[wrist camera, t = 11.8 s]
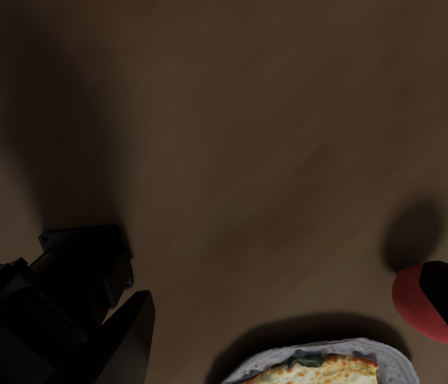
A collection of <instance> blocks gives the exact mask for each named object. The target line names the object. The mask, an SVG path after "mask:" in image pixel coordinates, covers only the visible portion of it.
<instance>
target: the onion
mask: <svg viewBox="0 0 448 384" xmlns="http://www.w3.org/2000/svg"><path fill="white" fill-rule="evenodd" d="M422 266H423V264H418V265H414V266H410V267H407V268H405V269H401V270H399V271H398V273H397V275H396V279H395V281H394V283H393V287H392V299H393V303H394V305H395V307H396V309H397V311H398V313H399V314H400V315H401V317H402V318H403V319H404V321H405V322H407V323H408V324H409V325H410V326H411V327H413V328H414V329H416V330H417V331H419V332H420V333H422V334H424V335H425V336H427V337H428V338H431V339H433V340H435V341H438V342H442V343H446V344H448V325H447V324H446V323H445V321H444V320H443V319H442V317H441V316H440V315H439V313H438V312H437V311H436V309H435V308H434V307H433V305H432V304H431V302H430V301H429V300H428V298H427V297H426V296H425V294H424V293H423V292H422V290H421V289H420V287H419V277H420V273H421V269H422Z"/></svg>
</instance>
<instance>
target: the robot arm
mask: <svg viewBox="0 0 448 384" xmlns="http://www.w3.org/2000/svg"><path fill="white" fill-rule="evenodd" d="M110 230H113V231H114V233H113V232H111V231H110ZM45 236H46V237H47V238H48V239H47V238H45ZM38 238H39V241H40V244H41V246H42V249H43V251H44V253H43V254H42V255H41V256H40V257H39V258H37V259H36V260H35V261H34V262H33V263H32V264H30V265H29V266H27V264H28V263H27V262H26V261H25V260H24V259H23V258H22V257H21V258H19V259H17V260H15V261H13V262H11V263H10V264H9V263H6V264H4V265H3V264H0V384H144V381H145V377H146V373H147V368H148V362H149V356H150V349H151V342H152V335H153V329H154V322H155V306H154V302H153V298H152V294H151V292H150V291H149V290H142V291H137V292H135V293H134V294H133V295H132V296H131V297H130V298H129V299H128V300H127V301H126V302H125V303H124V304H123V305H122V306H121V307H120V308H119V309H118V310H117V311H116V312H115V313H114V314H113V315H112V316H111V317H110V318H109V319H108V320H107V321H106V322H105V323H104V324H103V325H102V323H103V321H104V319H105V317H106V315H107V313H108V311H109V309H114V308H115V307H116V305H117V304H118V301H119V299H120V297H121V295H122V293H123V291H124V290H128V289H131V288H132V286H133V284H134V281H133V277H132V273H133V270H132V266H131V263H130V259H129V255H128V252H127V249H126V248H125V247H124V245H123V241H122V237H121V234H120V230H119V228H118V227H117V226H116V225H103V226H93V227H83V228H73V229H63V230H53V231H45V232H43V233H42V234H40V235H39V237H38ZM127 283H129V284H127ZM419 287H420V289H421V290H422V292H423V293H424V294H425V296H426V297H427V298H428V300H429V301H430V302H431V304H432V305H433V307H434V308H435V309H436V311H437V312H438V313H439V315H440V316H441V317H442V319H443V320H444V321H445V323H446V324H447V325H448V263H445V262H442V261H428V262H425V263H424V264H423V266H422V269H421V273H420V277H419Z"/></svg>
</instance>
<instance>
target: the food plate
mask: <svg viewBox="0 0 448 384" xmlns="http://www.w3.org/2000/svg"><path fill="white" fill-rule="evenodd" d="M274 349H275V350H274ZM419 383H420V381H419V377H418V375H417V373H416V372H415V369H413V365H412V364H411V362H410V361H409V360H408V359H407V357H406V356H404V355H403V354H402V353H401V352H399V351H398V350H396V349H395V348H393V347H390V346H388V345H386V344H384V343H381V342H377V341H374V340H369V339H366V338H363V337H361V338H360V337H359V338H355V339H346V340H345V339H344V340H340V341H337V340H336V341H333V340H332V341H329V342H328V341H326V340H325V341H323V342H321V341H319V342H313V343H307V344H305V345H304V344H303V345H301V344H300V345H295V346H291V347H283V348H276V347H275V348H273V349H270V350H266V351H263V352H260V353H256V354H253V356H250V357H247V358H246V359H244V360H243V361H241V362H240V364H238V365H236V367H235V368H233V370H231V371H230V372H229V373H228V374H227V375H226V376H225V377H223V378H222V380H220V381H219V382H218V383H217V384H419Z"/></svg>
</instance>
